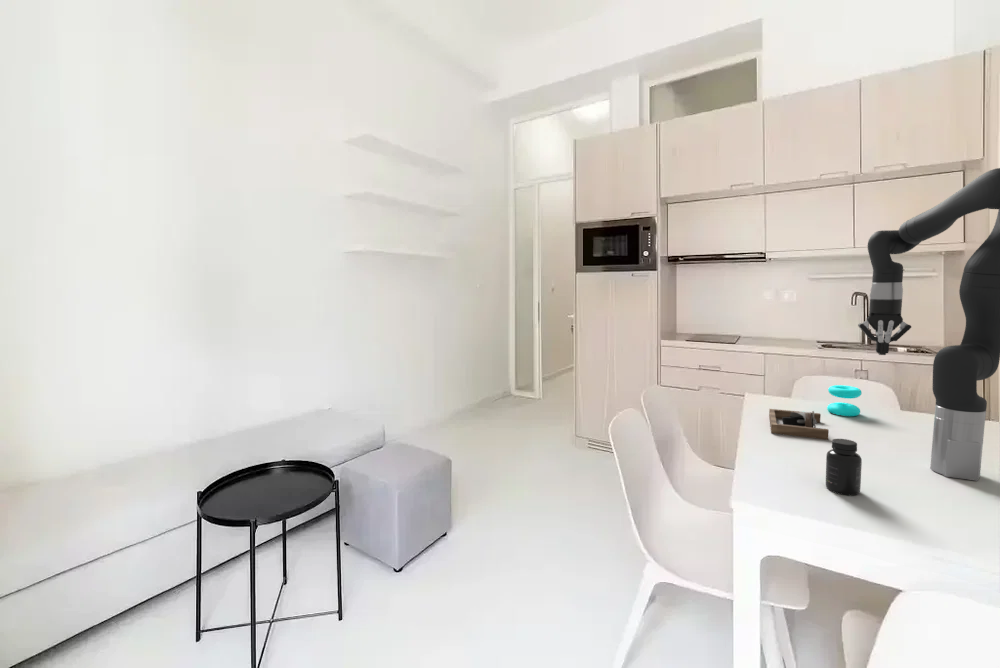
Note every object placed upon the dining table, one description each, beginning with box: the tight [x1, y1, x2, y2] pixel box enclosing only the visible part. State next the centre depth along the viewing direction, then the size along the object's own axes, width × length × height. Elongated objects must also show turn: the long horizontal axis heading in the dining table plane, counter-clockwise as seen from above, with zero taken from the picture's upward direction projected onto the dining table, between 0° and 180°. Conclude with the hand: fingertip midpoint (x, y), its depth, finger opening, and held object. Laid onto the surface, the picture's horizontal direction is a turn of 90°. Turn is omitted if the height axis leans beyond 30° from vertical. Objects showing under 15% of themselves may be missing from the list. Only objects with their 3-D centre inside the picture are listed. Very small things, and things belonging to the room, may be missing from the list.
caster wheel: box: [781, 410, 817, 428], centre depth 158 cm, size 7×11×10 cm
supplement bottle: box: [825, 438, 863, 496], centre depth 112 cm, size 7×7×12 cm
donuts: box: [826, 384, 862, 417], centre depth 174 cm, size 10×10×10 cm
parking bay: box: [768, 408, 830, 441], centre depth 160 cm, size 21×16×3 cm
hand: (882, 354), depth 143 cm, fingers closed
